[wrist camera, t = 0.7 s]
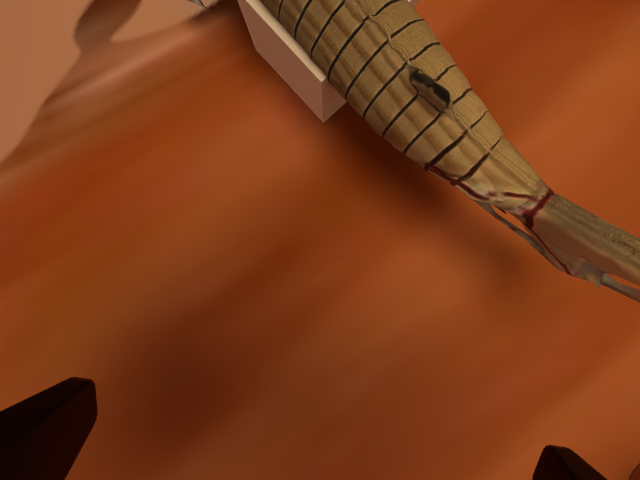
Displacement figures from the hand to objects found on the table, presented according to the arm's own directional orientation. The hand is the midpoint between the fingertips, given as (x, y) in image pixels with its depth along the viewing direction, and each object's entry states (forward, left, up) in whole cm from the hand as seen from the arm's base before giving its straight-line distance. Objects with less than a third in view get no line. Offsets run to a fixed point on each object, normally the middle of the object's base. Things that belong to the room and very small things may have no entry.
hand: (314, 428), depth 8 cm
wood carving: (+12, +6, -16) cm, 21 cm away
